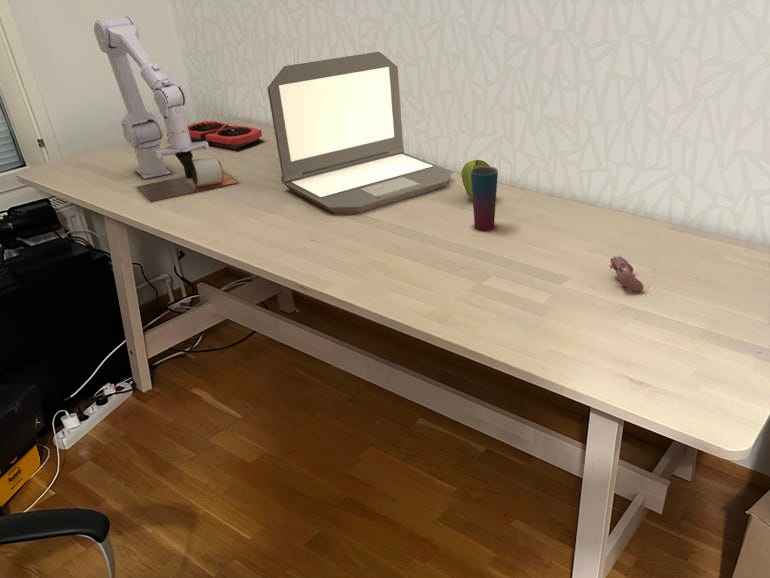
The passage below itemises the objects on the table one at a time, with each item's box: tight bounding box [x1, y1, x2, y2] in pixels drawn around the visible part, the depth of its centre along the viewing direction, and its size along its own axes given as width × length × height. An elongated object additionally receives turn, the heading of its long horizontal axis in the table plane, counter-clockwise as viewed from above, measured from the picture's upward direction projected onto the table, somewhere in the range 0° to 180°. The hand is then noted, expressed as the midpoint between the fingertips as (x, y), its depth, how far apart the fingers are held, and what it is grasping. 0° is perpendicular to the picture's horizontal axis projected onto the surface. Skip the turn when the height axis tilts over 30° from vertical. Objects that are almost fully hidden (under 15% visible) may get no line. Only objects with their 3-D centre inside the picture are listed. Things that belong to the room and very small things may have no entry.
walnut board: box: [137, 171, 238, 203], centre depth 208 cm, size 15×25×1 cm, turn 126°
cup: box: [471, 165, 499, 232], centre depth 176 cm, size 7×7×15 cm
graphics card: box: [165, 120, 264, 152], centre depth 244 cm, size 20×32×4 cm, turn 57°
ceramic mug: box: [190, 158, 225, 187], centre depth 206 cm, size 11×8×8 cm
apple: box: [461, 159, 491, 201], centre depth 193 cm, size 9×8×12 cm
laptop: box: [267, 51, 454, 215], centre depth 196 cm, size 43×31×34 cm
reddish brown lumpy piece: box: [609, 255, 644, 293], centre depth 152 cm, size 10×5×7 cm, turn 5°
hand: (189, 177), depth 204 cm, fingers closed
